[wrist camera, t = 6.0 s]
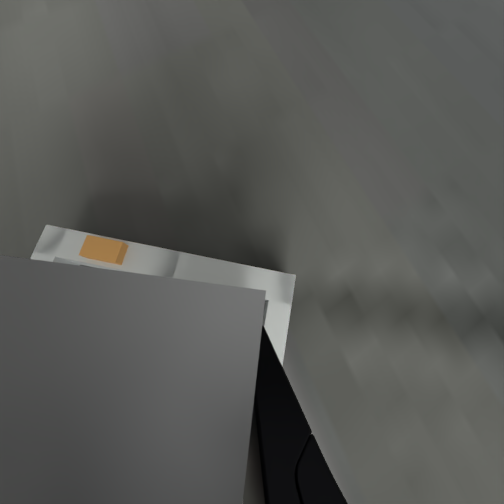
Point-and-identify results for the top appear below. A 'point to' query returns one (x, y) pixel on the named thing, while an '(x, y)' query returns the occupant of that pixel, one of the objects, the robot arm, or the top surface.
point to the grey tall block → (124, 386)
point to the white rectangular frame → (173, 270)
